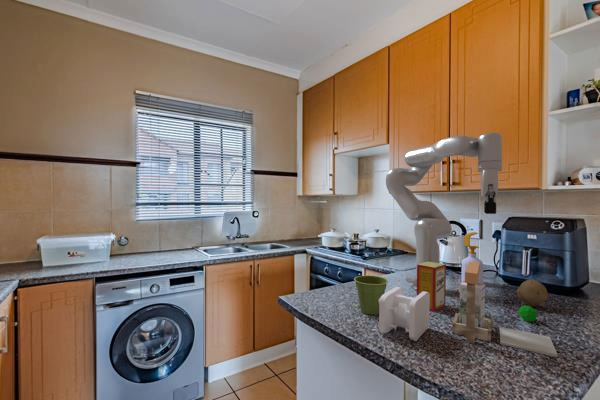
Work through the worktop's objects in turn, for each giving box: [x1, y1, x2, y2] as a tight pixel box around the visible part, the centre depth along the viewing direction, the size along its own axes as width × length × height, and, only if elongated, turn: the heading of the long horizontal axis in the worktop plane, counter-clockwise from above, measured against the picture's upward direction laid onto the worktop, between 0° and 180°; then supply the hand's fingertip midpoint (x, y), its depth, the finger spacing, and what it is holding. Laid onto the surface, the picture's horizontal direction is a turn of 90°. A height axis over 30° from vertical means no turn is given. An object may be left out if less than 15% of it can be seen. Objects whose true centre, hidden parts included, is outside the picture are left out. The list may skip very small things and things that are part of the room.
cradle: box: [452, 283, 492, 345], centre depth 89 cm, size 10×18×16 cm, turn 147°
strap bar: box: [465, 262, 480, 285], centre depth 89 cm, size 3×18×3 cm, turn 147°
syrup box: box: [459, 281, 486, 329], centre depth 89 cm, size 6×6×14 cm
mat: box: [499, 326, 558, 358], centre depth 83 cm, size 12×12×1 cm
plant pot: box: [353, 274, 389, 315], centre depth 105 cm, size 12×12×11 cm
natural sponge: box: [516, 279, 549, 307], centre depth 112 cm, size 9×9×10 cm
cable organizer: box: [378, 286, 430, 342], centre depth 89 cm, size 15×11×12 cm
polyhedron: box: [518, 305, 538, 323], centre depth 98 cm, size 5×5×5 cm
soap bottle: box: [460, 231, 484, 284], centre depth 143 cm, size 9×9×25 cm
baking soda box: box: [416, 262, 447, 313], centre depth 110 cm, size 10×6×16 cm
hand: (490, 213), depth 109 cm, fingers open, 9 cm apart
